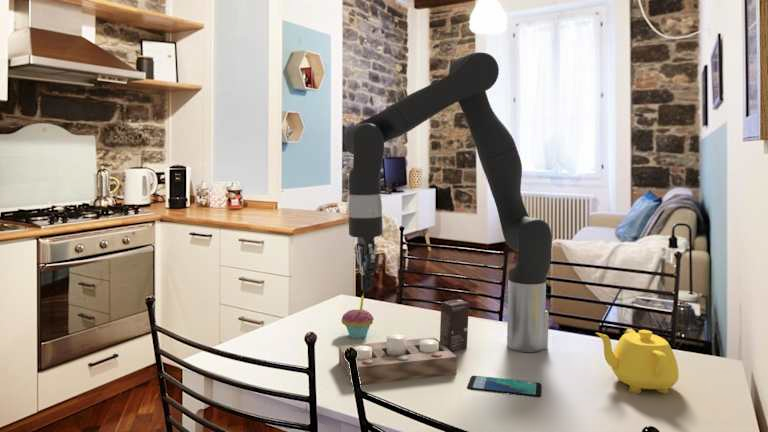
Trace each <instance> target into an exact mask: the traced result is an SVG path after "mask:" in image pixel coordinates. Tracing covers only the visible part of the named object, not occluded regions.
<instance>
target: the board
mask: <svg viewBox="0 0 768 432" xmlns="http://www.w3.org/2000/svg"><path fill="white" fill-rule="evenodd" d="M428 339H429V340H436V341H438V342H439V352H429V353H421V352H420V341H422V340H428ZM356 346H369V347H371V348H372V358H370V359H360V360H357V367H358V372H359V377H360V381H361V385H362V386H363V385H370V384H371V385H372V384H380V383H389V382H397V381H405V380H406V381H407V380H415V379H423V378H433V377H442V376H450V375H457V373H458V372H457V371H458V370H457V368H458V367H457V363H458V362H457V361H458V360H457V359H458V357H457V355H455V353H453V351H450V350H449V349H447V348H446V347H445V346H444V345H443V344H442V343H441V342H440V340H438V339H437V337H424V338H413V339H406V355H400V356H390V357H388V356H387V341H382V342H370V343H369V342H368V343H359V344H349V345H338V362H339V365H340V367H341V368H343V369H342V370H344V371H343V372H345V373H344V374H345V376H346V375H347V376H346V378H347V377H348V378H347V380H348V379H349V380H348V382H349V381H350V382H351V375H350V368H349V364H348V362H347V361H346V360H345V358H344V351H345V350H346V349H347V348H349V347H352V348H354V347H356ZM350 382H349V383H350ZM361 385H360V386H361ZM350 386H352V382H351V384H350ZM352 387H353V386H352Z"/></svg>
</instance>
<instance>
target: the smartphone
mask: <svg viewBox="0 0 768 432" xmlns="http://www.w3.org/2000/svg"><path fill="white" fill-rule="evenodd" d="M469 378H470V379H469V380H468V383H467V387H466V389H467V390H471V391H481V392H488V393H489V392H490V393H496V392H497V393H498V394H504V393H509V394H508V395H513V394H515V395H514V396H521V395H524V396H525V397H531V398H541V397H542V383H540V382H537V381H529V380H528V381H527V380H520V379H519V380H518V379H512V378H511V379H510V378H501V377H494V376H493V377H491V376H482V375H471V376H470V377H469ZM497 393H496V394H497Z"/></svg>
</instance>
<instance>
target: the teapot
mask: <svg viewBox="0 0 768 432" xmlns="http://www.w3.org/2000/svg"><path fill="white" fill-rule="evenodd" d="M653 333H654V332H652V330H651V331H650V330H647V329H640V330H638V332H637V331H635V329H632V328H627V329H626V330H625V333H624V334H622V335H621V337H620V338H619V340H618V342H617V343H616V345H615V347H614V349H613V348H612V342H611V339H610V337H609V336H608V335H607V334H604V333H600V332H595V334H596V335H598V337H600V338H601V340H602V343H603V354H604V359H605V361H606V363H607V364H608V366H610V367H611V369H612V372H613V374H614V375H615V377H616V378H617V380H618V381H620V382H622V383H624V384H626V385H628V386H629V387H628V391H629V392H630V393H633V394H640V393H642V389H644V390H656V392H658V393H661V394H669V393H670V390H669V389H672V387H674V386H675V384H677V382H678V380H679V377H680V376H679V367H678V363H677V359H676V357H675V354H674V352H673V350H672V349H673V348H672V347H671V345H670V344H669V342H668V341H667V340H666V339H665V338H663V337H661V336H659V335H657V334H653Z"/></svg>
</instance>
